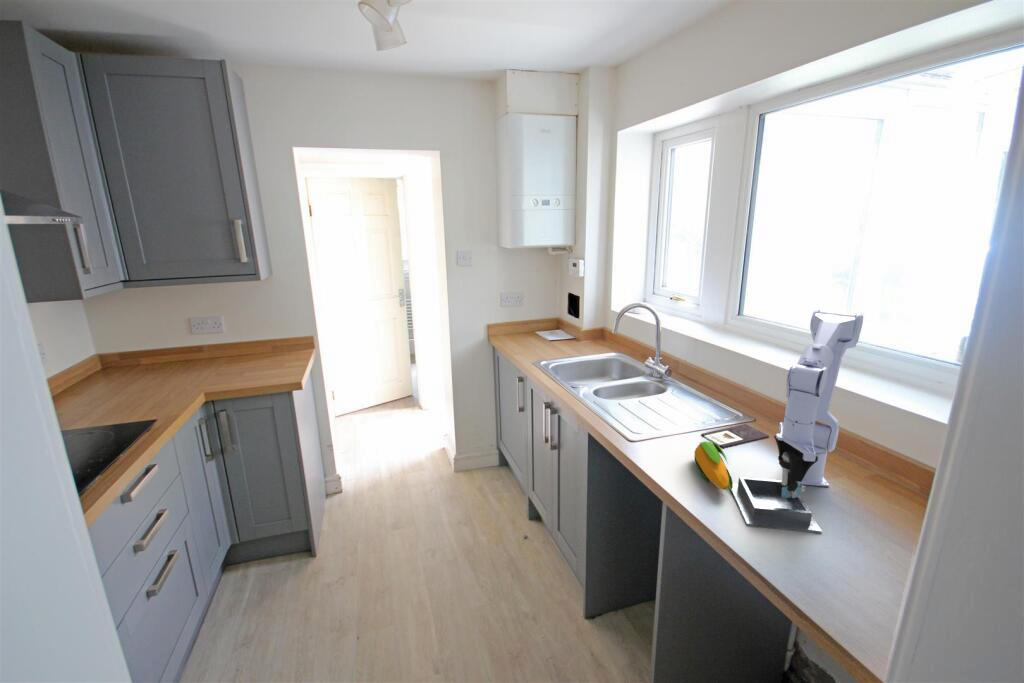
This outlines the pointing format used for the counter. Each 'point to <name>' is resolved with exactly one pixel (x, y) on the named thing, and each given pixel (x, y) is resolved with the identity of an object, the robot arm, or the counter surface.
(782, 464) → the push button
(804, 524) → the grey metal tray
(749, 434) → the chocolate bar
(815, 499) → the counter surface
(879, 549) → the counter surface
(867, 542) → the counter surface
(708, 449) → the corn
